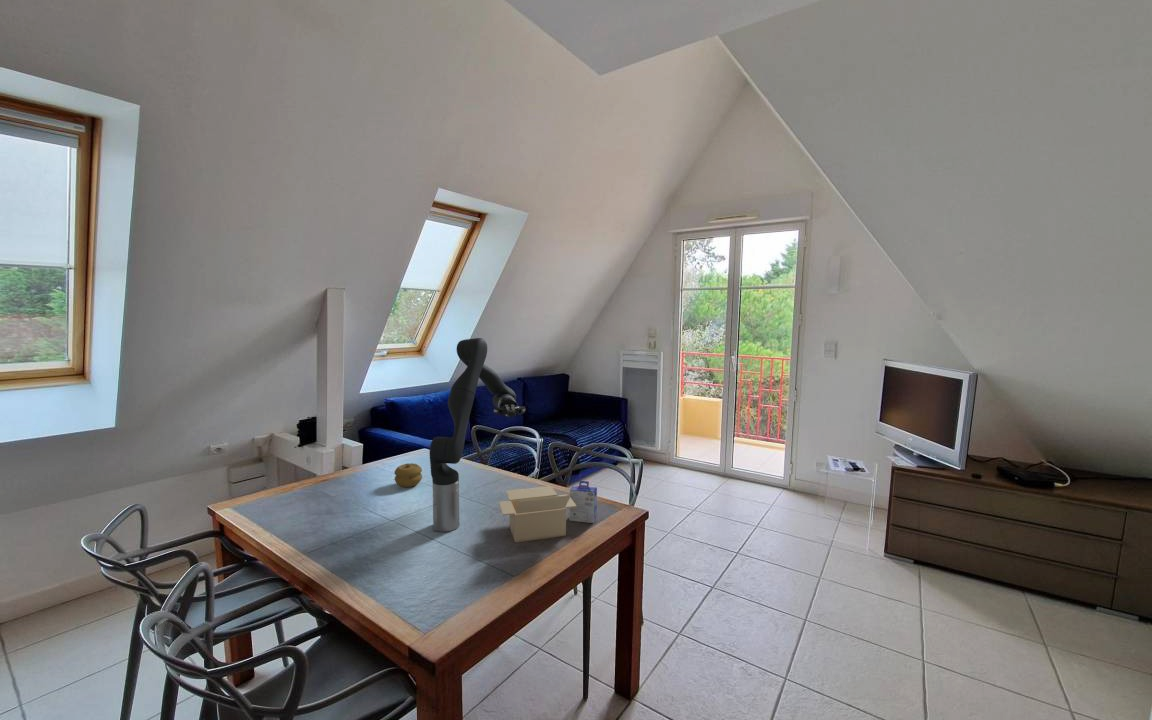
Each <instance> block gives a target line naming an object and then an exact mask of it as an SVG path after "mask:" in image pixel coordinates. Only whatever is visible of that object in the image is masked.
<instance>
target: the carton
mask: <svg viewBox="0 0 1152 720" xmlns="http://www.w3.org/2000/svg"><path fill="white" fill-rule="evenodd" d="M505 495H506V496H507V498H508V500H503V501H498V505H499V507H500V511H501V514H502V516H509V529H510V530H509V531H510V532H511V535H512V539H513V541H514V543H515V544H517V543H524V542H532V541H540V540H546V539H553V538H554V539H555V538H562V537H566V536H567V509H568V508H569V509H570V508H571V507H577V506H576V504H575V503H574V502H573V500H572V499H571V498H569V501H568V503H567V505H566V507H565V508H556V509H548V510H539V511H530V512H522V513H516V511H517V508H518V504H519V501H522V500H532V499H541V498H550V497H559V496H568V495H569V494H568V493H567V494H558V493H557V492H556V490H555V489H554V488H553V486H552V485H549V486H548V485H547V486H539V487H537V486H536V487H531V488H528V487H527V488H520V489H509V490H505Z"/></svg>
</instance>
